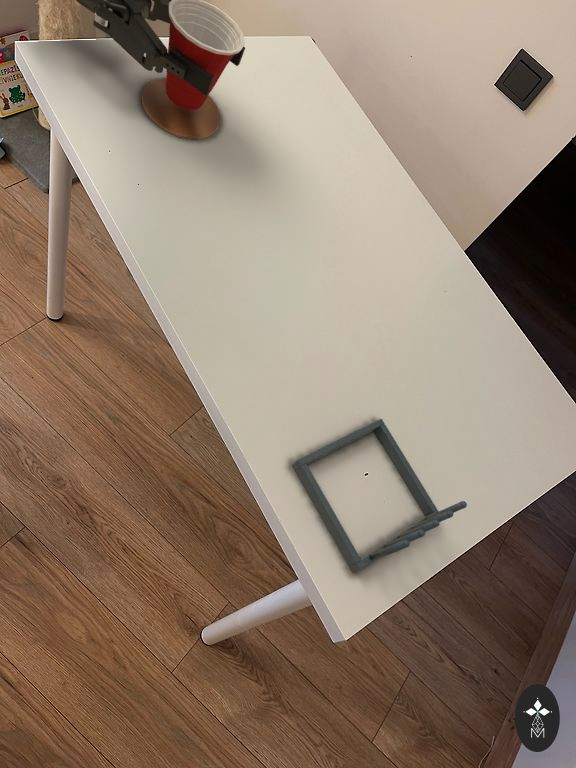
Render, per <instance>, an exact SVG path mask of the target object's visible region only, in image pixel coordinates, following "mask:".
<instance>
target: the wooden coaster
mask: <svg viewBox="0 0 576 768" xmlns="http://www.w3.org/2000/svg"><path fill="white" fill-rule="evenodd" d="M141 104H142V107H143V110H144V112H145V113H146V115H147V117H148V118H149V119H150V121H152V122H153V123H154V124H155V125H156V126H158V128H160V129H162V130H163V131H165V132H167V133H169V134H171V135H173V136H175V137H178V138H182V139H186V140H203V139H207V138H208V137H211V136H212V135H214V134H215V133H216V132H217V130H218V129H219V126H220V123H221V113H220V110H219V108H218V106H217V104H216V102H215V101H214V100H213V98H211V96H210V95H208V97H207V99H206V101H205V102H204V104H203V105H202V106H201V107H200V108H199V109H196V110H187V109H184V108H181V107H179V106H177V105H175V104H174V103H173V102H172V101H171V100H170V99H169V98H168V96H167V94H166V77H161V78H157V79H153V80H151V81H150V82H148V83H147V84H146V85H145V86H144V88H143V90H142V94H141Z"/></svg>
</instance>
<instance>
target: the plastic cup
mask: <svg viewBox="0 0 576 768" xmlns="http://www.w3.org/2000/svg"><path fill="white" fill-rule="evenodd" d="M169 17H170V24H169V28H168V31H169V33H168V34H169V36H168V46H167V50H168V51H167V53H169V51H170V49H171V48H172V47H173V48H175V49H176V50H177V51H179V52H180V53H182V54H183V55H185V56H186V57H187V58H189V59H190V60H192V61H193V62H195V63H196V64H197V65H199V66H200V67H202V68H203V69H205V70H206V71H207V72H209V73H210V74H212V75H213V76H214V79H213V82H212V85H211V88H210V91H209V93H208V94H207V95H205V94H203V93H202V92H200V91H199V90H197V89H196V88H195V87H193V86H192V85H190V84H189V83H187V82H186V81H185V80H182V79H180V78H178V77H177V76H175V75H174V74H173V73H171V72H169V71H168V70H166V75H165V78H166V94H167V96H168V98H169V99H170V100H171V101H172V102H173V103H174V104H175V105H177V106H179V107H181V108H184V109H187V110H196V109H199V108H200V107H201V106H202V105H203V104H204V102H205V101H206V99H207V97H208V96H210V93H211V92H212V91H213V89H214V88H215V86H216V85H217V83H218V81H219V79H220V77H221V76H222V74H223V72H224V71H225V70H226V67H227V65H228V64H229V63H230V60H231V59H232V58H233V56H234V55H235V54H236V53H239V52H240V51H241V49H242V48H243V46H244V47H245V45H246V42H245V34H244V33H243V31H242V29H241V28H240V26H239V25H238V24H237V22H236V21H235V20H233V19H232V18H231V17H230V16H229V14H227V13H226V12H225V11H223V10H222V9H220V8H218V7H217V6H215V5H214V4H212V3H209V2H208V1H205V0H172V1H171V2H170V3H169Z"/></svg>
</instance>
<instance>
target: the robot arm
mask: <svg viewBox="0 0 576 768" xmlns="http://www.w3.org/2000/svg"><path fill="white" fill-rule="evenodd" d="M171 1H172V0H75V2H77V3H78V4H80V5H81V6H82V7H84V8H85V9H87V10H88V11H90V12H91V13H93V24H92V25H93V26H94V27H95V28H96V29H98V30H100V31H102V32H103V33H105V34H106V35H108V36H109V37H110V38H111V39H112V40H113V41H115V42H116V43H117V45H119V47H121V48H122V49H123V50H124V51H125V52H126V53H127V54H128V55H130V56H131V57H132V58H133V59H134V60H135V61H136V62H137V63H138V64H139V65H140V66H141V67H142V68H144V70H146V71H149V72H151V71H153V69H154V71H155V72H156V73H158V74H161V73H163V71H164V69H165V70H166V71H167V70H168V71H169V72H171V73H173V74H174V75H175V76H177V77H178V78H180V79H182V80H185V81H186V82H187V83H189V84H190V85H192V86H193V87H195V88H196V89H197V90H199V91H200V92H202V93H203V94H205V95H207V94H208V93H209V91H210V88H211V85H212V82H213V79H214V76H213V75H212V74H210V73H209V72H207V71H206V70H205V69H203V68H202V67H200V66H199V65H197V64H196V63H195V62H193V61H192V60H190V59H189V58H187V57H186V56H185V55H183V54H182V53H180V52H179V51H177V50H176V49H175V48H173V47H172V48H171V49H170V51H169V53H168V47H166V46H165V44H164V43H163V41H162V40H161V39H160V38H159V36H158V35H157V33H156V32H155V31H154V30H153V28H152V26H150V24H149V22H147V20H149V21H152V22H156V21H157V20H159V21H161V22H164V23H166V24H169V25H170V17H169V3H170V2H171ZM152 2H153V3H152ZM152 5H153V6H152ZM151 9H152V10H151ZM146 19H147V20H146ZM245 50H246V47H245V45H244V46H243V48H242V49H241V51H240V52H239V53H236V54H235V55H234V56H233V58H232V59H231V60H230V61H229V63H232V64H233V65H234V66H236V67H239V65H240V64H241V61H242V59H243V56H244V54H245ZM209 94H210V93H209Z"/></svg>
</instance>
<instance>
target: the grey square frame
mask: <svg viewBox="0 0 576 768" xmlns="http://www.w3.org/2000/svg"><path fill="white" fill-rule="evenodd" d="M372 432H374V434H375V435H376V437H377V438H378V440H379V442H380V444H381V445H382V447H383V448H384V450H385V452H386V453H387V455H388V457H389V458H390V460H391V462H392V463H393V465H394V466H395V468H396V471H398V473H399V475H400V476H401V478H402V480H403V481H404V483H405V484H406V486H407V488H408V489H409V491H410V493H411V495H412V496H413V498H414V500H415V501H416V503H417V504H418V506H419V507H420V509H421V511H422V512H423V514H424V516H423V517H421V518H420V519H418V520H417V521H416V522H414V523H412V524H411V525H410V526H408V527H406V528H404V529H403V530H402V531H400V532H399V533H397V534H396V535H394V536H393V537H391V538H389V539H388V540H386V541H385V542H383V543H382V544H381V545H379V546H377V547H376V548H374V549H373V550H372V551H369V552H368V553H366V554H365V555H364V556H362V557H360V555H359V553H358V552H357V550H356V548H355V546H354V544H353V542H352V541H351V539H350V537H349V536H348V534H347V532H346V531H345V529H344V527H343V526H342V524H341V522H340V520H339V518H338V517H337V514H336V513H335V511H334V509H333V507H332V506H331V504H330V502H329V501H328V499H327V497H326V495H325V494H324V491H322V488H321V487H320V485H319V483H318V481H317V480H316V478H315V476H314V475H313V472H312V470H311V469H310V467H309V466H308V465H310V464H312V463H313V462H315V461H317V460H319V459H321V458H323V457H325V456H327V455H330V454H331V453H332V452H335V451H337V450H339V449H341V448H343V447H345V446H347V445H349V444H351V443H353V442H355V441H357V440H359V439H362V437H364V436H367V435H368V434H370V433H372ZM291 466H292V467H293V469H294V471H295V473H296V474H297V477H298V478H299V481H300V482H301V484H302V485H303V487H304V489H305V491H306V493H307V494H308V496H309V498H310V500H311V501H312V503H313V505H314V507H315V508H316V510H317V512H318V514H319V515H320V517H321V519H322V521H323V523H324V524H325V527H326V528H327V531H329V533H330V535H331V537H332V538H333V540H334V542H335V544H336V546H337V548H338V550H339V551H340V553H341V555H342V557H343V558H344V561H346V563H347V565H348V567H349V568H350V570H351V572H352V573H355V572H358V571H361V570H362V569H363V568H365V567H367V566H368V565H370V564H371V563H372V562H375V561H376V560H379V559H381V558H384V557H386V556H389V555H392V554H394V553H396V552H400V551H401V550H404V549H407V548H409V547H410V545H411V542H413V541H416V540H419V539H421V538H424V537H425V536H426V532H429V531H431V530H433V529H436V528H438V527H439V526H440V523H441V522H444V521H447V520H448V519H450V518H451V519H452V518H453V516H454V513H457V512H459V511H461V510H464V509H466V508H467V506H468V504H467V501H465V500H462V501H458V502H457V503H455V504H452V505H449V506H448V507H446V508H444V509H441V510H438V508H437V507H436V505H435V503H434V501H433V500H432V498H431V496H430V495H429V493H428V491H427V490H426V488H425V487H424V485H423V483H422V482H421V481H420V479H419V477H418V476H417V474H416V472H415V471H414V469H413V467H412V466H411V463H410V462H409V461H408V459H407V458H406V456H405V454H404V453H403V451H402V449H401V448H400V446H399V445H398V443H397V441H396V440H395V438H394V436H393V435H392V433H391V431H390V429H389V428H388V427H387V425H386V424H385V421H384V420H383V419H382V418H380V419H377V420H375V421H374V422H371V423H370V424H368V425H365V426H363V427H361V428H359V429H357V430H355V431H353V432H351V433H349V434H347V435H345V436H343V437H342V438H339V439H336V440H335V441H333V442H331V443H329V444H327V445H325V446H323V447H321V448H319V449H317V450H315V451H313V452H311V453H309V454H307V455H305V456H303V457H301V458H298V459H297V460H296V461H295V462H294V463H292V464H291Z"/></svg>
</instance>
